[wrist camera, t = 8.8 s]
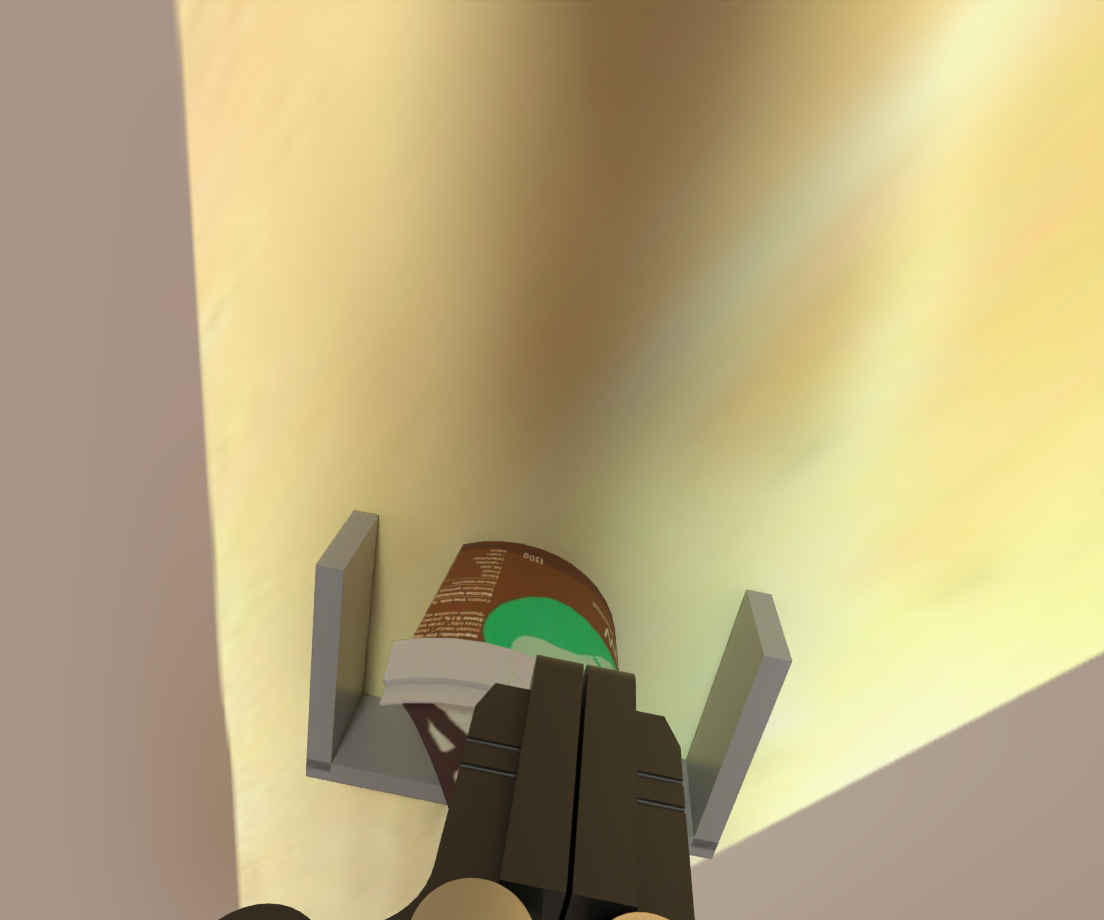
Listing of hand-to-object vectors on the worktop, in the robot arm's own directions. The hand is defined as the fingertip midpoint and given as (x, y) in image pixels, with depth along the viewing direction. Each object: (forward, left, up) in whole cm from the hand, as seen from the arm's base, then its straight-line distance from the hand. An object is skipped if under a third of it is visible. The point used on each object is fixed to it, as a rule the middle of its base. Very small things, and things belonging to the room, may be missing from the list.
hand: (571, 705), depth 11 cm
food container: (+11, +1, -17) cm, 20 cm away
